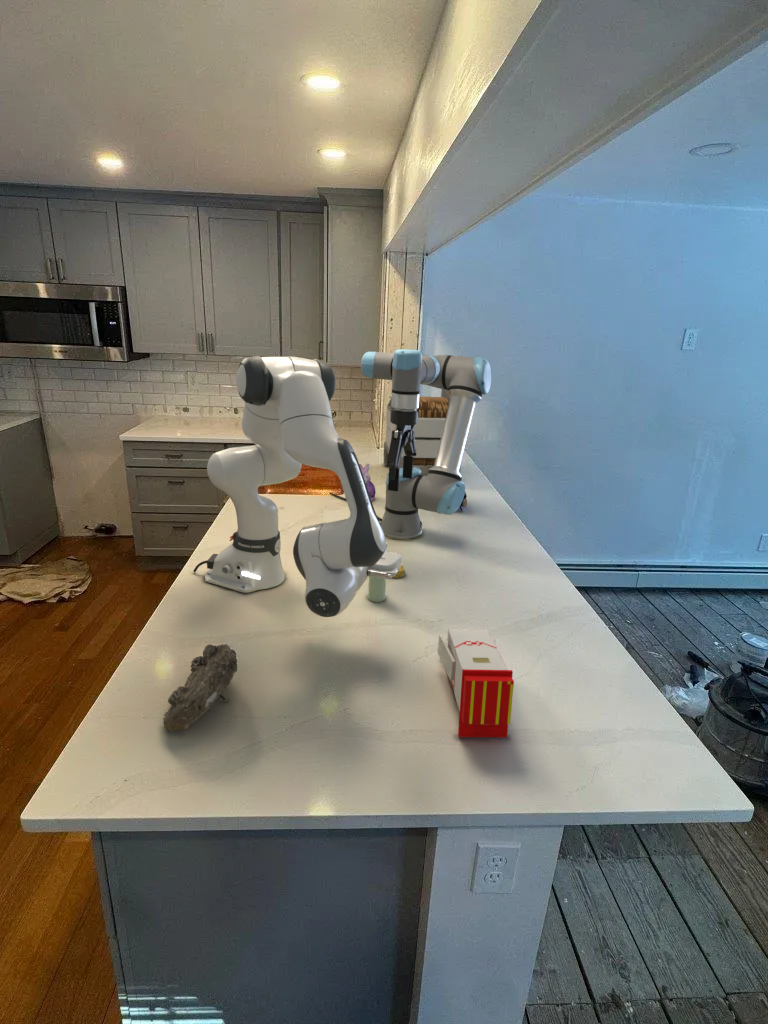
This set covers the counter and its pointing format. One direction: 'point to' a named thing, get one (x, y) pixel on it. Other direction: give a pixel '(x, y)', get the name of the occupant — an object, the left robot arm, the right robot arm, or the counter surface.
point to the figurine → (368, 481)
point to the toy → (478, 682)
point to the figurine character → (463, 502)
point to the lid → (399, 572)
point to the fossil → (201, 686)
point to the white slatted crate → (423, 429)
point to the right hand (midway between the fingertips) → (400, 484)
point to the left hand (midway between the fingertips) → (365, 546)
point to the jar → (376, 588)
